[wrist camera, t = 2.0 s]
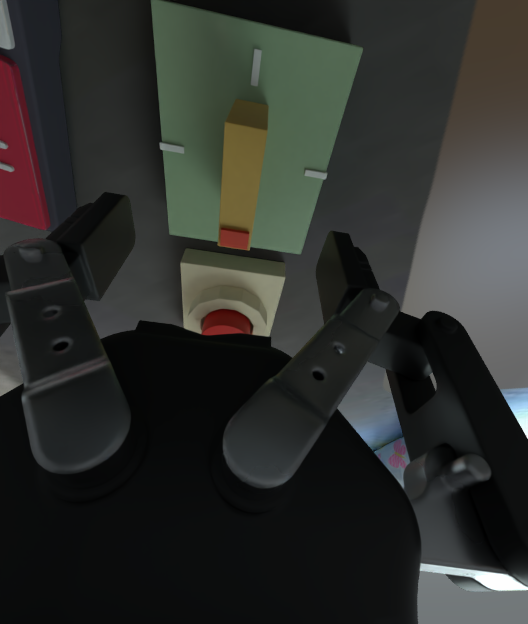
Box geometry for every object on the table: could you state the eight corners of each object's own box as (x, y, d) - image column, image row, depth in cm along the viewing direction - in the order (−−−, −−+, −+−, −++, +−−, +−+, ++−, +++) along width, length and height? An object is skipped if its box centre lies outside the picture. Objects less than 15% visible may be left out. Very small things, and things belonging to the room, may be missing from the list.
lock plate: (165, 0, 15) (146, -4, 13) (353, 44, 16) (366, 48, 14) (177, 215, 23) (167, 235, 21) (299, 234, 24) (302, 256, 22)
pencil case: (382, 462, 65) (394, 513, 58) (347, 458, 63) (356, 509, 57) (449, 426, 51) (476, 487, 44) (407, 419, 49) (428, 481, 42)
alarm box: (185, 247, 26) (175, 275, 23) (284, 262, 26) (286, 291, 24) (188, 328, 33) (180, 356, 30) (265, 337, 34) (264, 365, 31)
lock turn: (235, 98, 15) (223, 122, 12) (269, 105, 15) (267, 131, 12) (227, 205, 19) (217, 248, 16) (253, 209, 20) (249, 253, 16)
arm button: (204, 305, 26) (200, 322, 24) (253, 311, 26) (252, 328, 25) (203, 336, 29) (200, 353, 27) (247, 341, 29) (246, 358, 28)
